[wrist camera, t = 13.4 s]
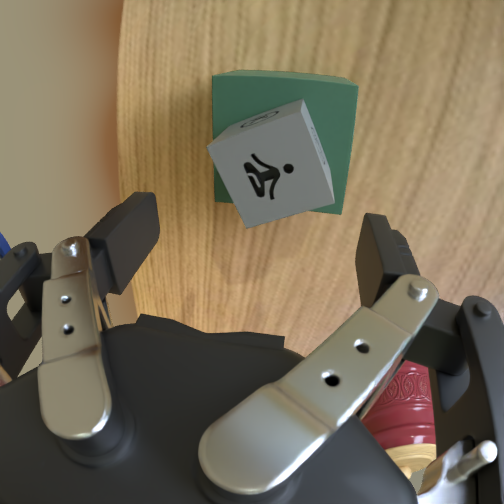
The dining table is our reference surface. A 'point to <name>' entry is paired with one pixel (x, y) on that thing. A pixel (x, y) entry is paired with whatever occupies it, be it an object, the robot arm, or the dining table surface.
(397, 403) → the kitchen canister
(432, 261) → the dining table surface
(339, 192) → the green block
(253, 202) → the dice cube
